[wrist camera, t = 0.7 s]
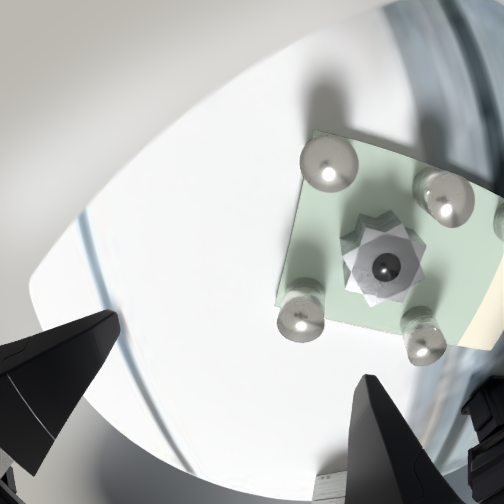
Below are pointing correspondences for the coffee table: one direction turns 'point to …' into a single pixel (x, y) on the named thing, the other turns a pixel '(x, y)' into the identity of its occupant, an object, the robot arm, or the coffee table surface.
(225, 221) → the coffee table surface
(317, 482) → the supplement box
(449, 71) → the coffee table surface
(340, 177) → the spacer field
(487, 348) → the mat
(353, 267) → the gear
